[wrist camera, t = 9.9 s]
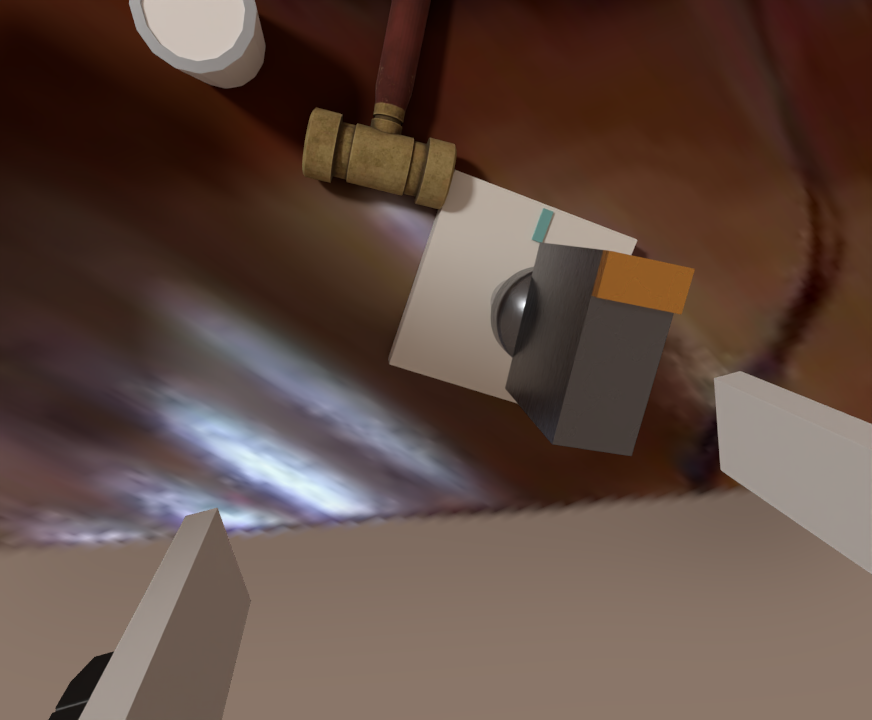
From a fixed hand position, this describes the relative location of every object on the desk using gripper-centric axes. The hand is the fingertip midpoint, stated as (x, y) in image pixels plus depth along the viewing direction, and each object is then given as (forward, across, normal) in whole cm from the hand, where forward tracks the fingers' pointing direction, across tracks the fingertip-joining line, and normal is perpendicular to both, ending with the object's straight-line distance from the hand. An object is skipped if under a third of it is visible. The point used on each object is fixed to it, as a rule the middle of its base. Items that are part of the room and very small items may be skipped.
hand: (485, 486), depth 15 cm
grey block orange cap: (+22, -9, +2) cm, 24 cm away
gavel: (+32, -5, -18) cm, 37 cm away
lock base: (+31, -9, +2) cm, 32 cm away
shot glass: (+32, +7, -20) cm, 38 cm away
